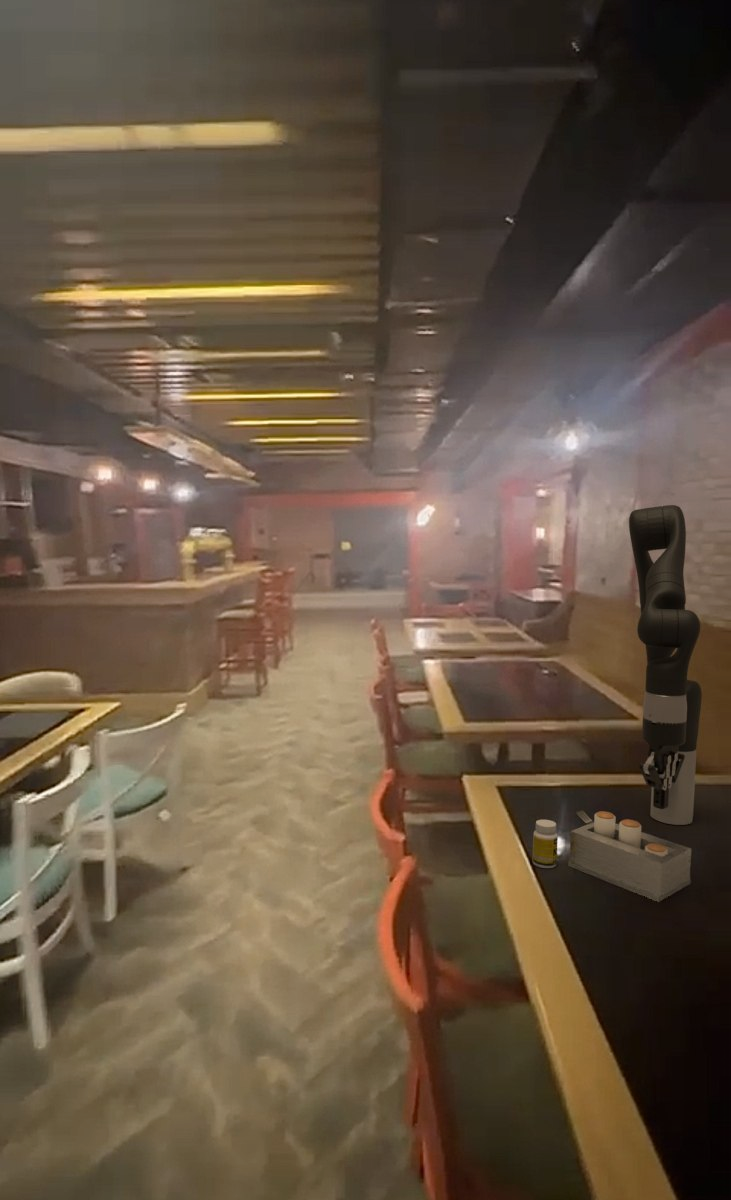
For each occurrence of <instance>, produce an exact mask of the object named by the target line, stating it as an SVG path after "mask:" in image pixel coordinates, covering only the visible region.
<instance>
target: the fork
mask: <svg viewBox="0 0 731 1200" xmlns="http://www.w3.org/2000/svg"><path fill="white" fill-rule="evenodd" d="M576 814H577V815H578V817H579V818H580V819H581V820H582V821H583V822H584V823H585V824H590V823H592V822H594V820H593V819H591V818H590V817H589V816H588V815H587V814H586V813H585V812H584V811H583V810H580V811H576Z"/></svg>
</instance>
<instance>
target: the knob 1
mask: <svg viewBox="0 0 731 1200" xmlns="http://www.w3.org/2000/svg"><path fill="white" fill-rule="evenodd" d="M593 817H594V820H593V822H594V833H596V834H599V835H602V836H605V837H608V838H611V839H614V840H615V823H616V820H617V819H616V818H617V817H616V816H615V815H614V814H613V813H612V812H609V811H605V810H604V811H603V810H601V811H597V812H595V813H594V816H593Z"/></svg>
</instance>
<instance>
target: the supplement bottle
mask: <svg viewBox="0 0 731 1200" xmlns="http://www.w3.org/2000/svg"><path fill="white" fill-rule="evenodd" d="M558 835H559V834H557V823H556V822H555V821H553V820H549V819H538V820H536V822H535V830H534V831H533V835H532V836H533V837H532V859H531V860H532V864H533V865H534V866H535V867H537V868H541V869H553V868H555V867H556V866H557V863H558V862H557V860H558Z"/></svg>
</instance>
